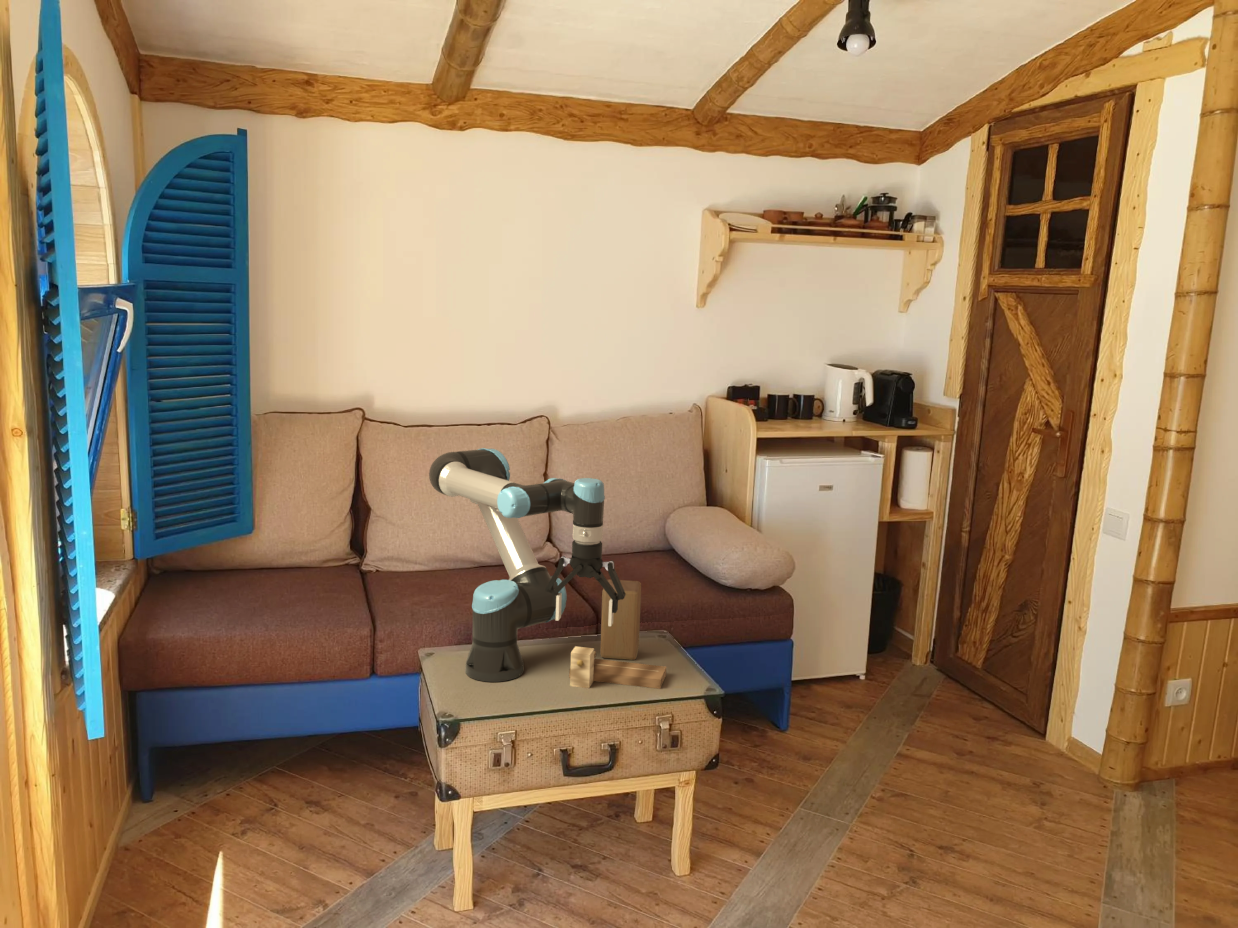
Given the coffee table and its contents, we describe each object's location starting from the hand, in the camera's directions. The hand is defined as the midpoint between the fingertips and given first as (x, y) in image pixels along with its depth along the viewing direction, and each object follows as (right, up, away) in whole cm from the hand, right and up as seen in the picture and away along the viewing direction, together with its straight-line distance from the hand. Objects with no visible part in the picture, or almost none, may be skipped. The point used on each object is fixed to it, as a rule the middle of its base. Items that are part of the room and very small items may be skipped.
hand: (584, 621), depth 249 cm
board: (+9, -16, +8) cm, 20 cm away
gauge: (0, -16, +7) cm, 17 cm away
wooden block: (+9, -13, +24) cm, 29 cm away
